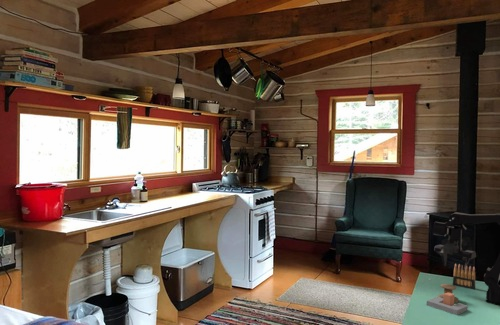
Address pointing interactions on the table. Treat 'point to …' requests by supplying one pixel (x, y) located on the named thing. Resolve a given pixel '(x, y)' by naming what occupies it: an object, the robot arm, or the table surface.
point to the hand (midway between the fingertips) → (454, 268)
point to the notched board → (447, 306)
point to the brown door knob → (448, 291)
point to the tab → (448, 299)
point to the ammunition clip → (464, 277)
